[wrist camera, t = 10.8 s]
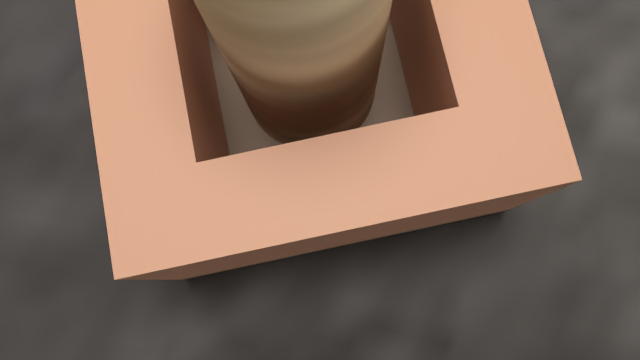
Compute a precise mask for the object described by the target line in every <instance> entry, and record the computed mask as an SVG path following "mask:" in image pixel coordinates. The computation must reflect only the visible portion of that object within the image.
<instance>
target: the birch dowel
mask: <svg viewBox="0 0 640 360" xmlns="http://www.w3.org/2000/svg"><path fill="white" fill-rule="evenodd" d="M194 2H195V4H196V6H197V8H198V10H199V12H200V14H201V16H202V18H203V20H204V22H205V23H206V25H207V27H208V29H209V31H210V33H211V35H212V37H213V39H214V41H215V43H216V45H217V47H218V49H219V50H220V52H221V54H222V56H223V58H224V60H225V62H226V64H227V66H228V68H229V70H230V72H231V74H232V76H233V78H234V79H235V81H236V83H237V85H238V87H239V89H240V91H241V93H242V95H243V97H244V99H245V101H246V103H247V105H248V107H249V108H250V110H251V112H252V114H253V116H254V118H255V120H256V121H257V123H258V124H259V126H260V127H261V128H262V129H263V130H264V131H265V132H266V133H267V134H268V135H269V136H271V137H272V138H274V139H275V140H277V141H278V142H280V143H282V144H286V143H291V142H295V141H300V140H305V139H309V138H314V137H319V136H323V135H328V134H333V133H338V132H342V131H347V130H352V129H356V128H359V127H360V126H361V125H362V124H363V122H364V121H365V119H366V118H367V116H368V114H369V112H370V110H371V107H372V104H373V100H374V95H375V89H376V84H377V79H378V74H379V68H380V63H381V58H382V53H383V48H384V42H385V37H386V32H387V27H388V21H389V16H390V11H391V6H392V0H194Z"/></svg>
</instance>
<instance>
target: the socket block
mask: <svg viewBox="0 0 640 360" xmlns="http://www.w3.org/2000/svg"><path fill="white" fill-rule="evenodd" d="M75 4H76V11H77V18H78V25H79V32H80V39H81V46H82V53H83V61H84V68H85V75H86V82H87V89H88V96H89V103H90V110H91V118H92V125H93V132H94V139H95V146H96V153H97V160H98V167H99V174H100V182H101V189H102V196H103V203H104V210H105V217H106V224H107V231H108V239H109V246H110V253H111V260H112V267H113V274H114V280H186V279H191V278H196V277H200V276H205V275H210V274H214V273H219V272H224V271H229V270H233V269H238V268H243V267H247V266H252V265H257V264H261V263H266V262H271V261H275V260H280V259H285V258H289V257H294V256H299V255H303V254H308V253H313V252H317V251H322V250H327V249H331V248H336V247H341V246H345V245H350V244H355V243H359V242H364V241H369V240H373V239H378V238H383V237H387V236H392V235H397V234H401V233H406V232H411V231H415V230H420V229H425V228H429V227H434V226H439V225H443V224H448V223H453V222H457V221H462V220H467V219H471V218H476V217H481V216H485V215H490V214H495V213H499V212H504V211H507V210H509V209H512V208H514V207H517V206H519V205H522V204H524V203H527V202H529V201H531V200H534V199H536V198H539V197H541V196H544V195H546V194H549V193H551V192H554V191H556V190H558V189H561V188H563V187H566V186H568V185H571V184H573V183H576V182H578V181H581V180H582V178H581V174H580V171H579V168H578V165H577V161H576V158H575V155H574V151H573V148H572V145H571V141H570V138H569V135H568V131H567V128H566V125H565V122H564V118H563V115H562V112H561V108H560V105H559V102H558V98H557V95H556V92H555V88H554V85H553V82H552V79H551V75H550V72H549V69H548V65H547V62H546V59H545V55H544V52H543V49H542V45H541V42H540V39H539V36H538V32H537V29H536V26H535V22H534V19H533V16H532V12H531V9H530V6H529V2H528V0H392V6H391V11H390V16H389V21H388V27H387V32H386V37H385V42H384V48H383V53H382V58H381V63H380V68H379V74H378V79H377V84H376V89H375V95H374V100H373V104H372V107H371V110H370V112H369V114H368V116H367V118H366V119H365V121H364V122H363V124H362V125H361V126H360V127H359V128H356V129H352V130H347V131H342V132H338V133H333V134H328V135H323V136H319V137H314V138H309V139H305V140H300V141H295V142H291V143H286V144H282V143H280V142H278V141H277V140H275V139H274V138H272V137H271V136H269V135H268V134H267V133H266V132H265V131H264V130H263V129H262V128H261V127H260V126H259V124H258V123H257V121H256V120H255V118H254V116H253V114H252V112H251V110H250V108H249V107H248V105H247V103H246V101H245V99H244V97H243V95H242V93H241V91H240V89H239V87H238V85H237V83H236V81H235V79H234V78H233V76H232V74H231V72H230V70H229V68H228V66H227V64H226V62H225V60H224V58H223V56H222V54H221V52H220V50H219V49H218V47H217V45H216V43H215V41H214V39H213V37H212V35H211V33H210V31H209V29H208V27H207V25H206V23H205V22H204V20H203V18H202V16H201V14H200V12H199V10H198V8H197V6H196V4H195V2H194V0H75Z"/></svg>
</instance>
